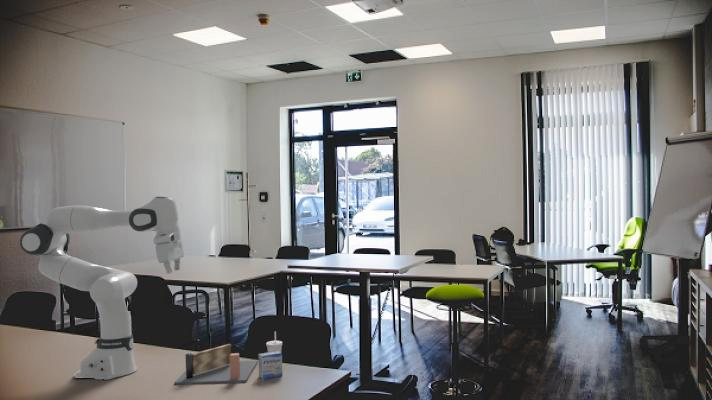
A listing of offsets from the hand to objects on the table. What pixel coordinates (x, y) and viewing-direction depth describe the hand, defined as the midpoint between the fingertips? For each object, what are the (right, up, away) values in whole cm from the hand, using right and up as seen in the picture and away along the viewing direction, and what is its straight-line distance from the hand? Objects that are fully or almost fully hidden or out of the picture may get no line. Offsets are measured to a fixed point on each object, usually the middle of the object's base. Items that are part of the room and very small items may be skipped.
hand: (173, 271), depth 214 cm
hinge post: (+10, -39, -12) cm, 42 cm away
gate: (+16, -37, -4) cm, 40 cm away
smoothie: (+40, -38, 0) cm, 55 cm away
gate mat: (+19, -38, -5) cm, 43 cm away
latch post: (+27, -38, -14) cm, 49 cm away
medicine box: (+40, -38, -11) cm, 56 cm away
